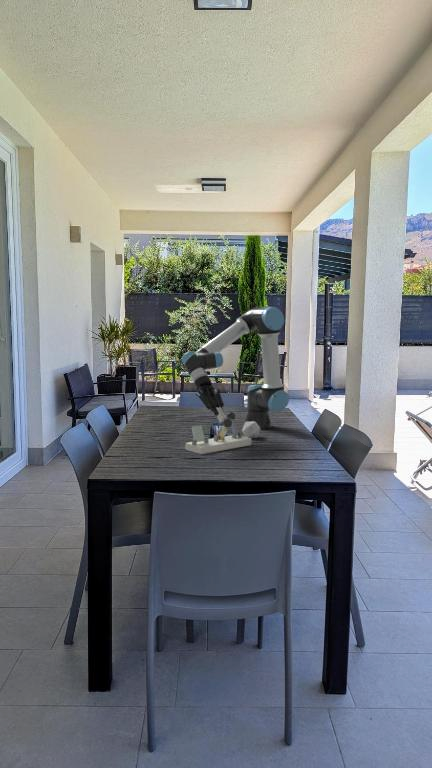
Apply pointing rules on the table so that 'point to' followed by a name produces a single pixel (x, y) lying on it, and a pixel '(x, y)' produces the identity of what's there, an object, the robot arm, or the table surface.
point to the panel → (217, 443)
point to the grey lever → (233, 422)
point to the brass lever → (224, 428)
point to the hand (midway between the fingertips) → (223, 420)
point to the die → (251, 429)
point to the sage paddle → (198, 433)
